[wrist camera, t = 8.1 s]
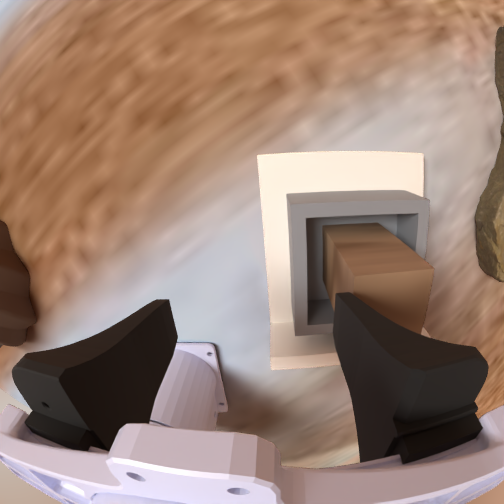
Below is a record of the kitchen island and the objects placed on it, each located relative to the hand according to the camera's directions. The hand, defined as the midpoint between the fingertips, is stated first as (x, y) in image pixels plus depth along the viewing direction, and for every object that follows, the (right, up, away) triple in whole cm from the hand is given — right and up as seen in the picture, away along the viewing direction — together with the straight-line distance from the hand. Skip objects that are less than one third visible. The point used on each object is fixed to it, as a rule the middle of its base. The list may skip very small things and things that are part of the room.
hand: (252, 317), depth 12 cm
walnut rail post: (+7, +3, +7) cm, 10 cm away
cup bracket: (+7, +3, +9) cm, 12 cm away
